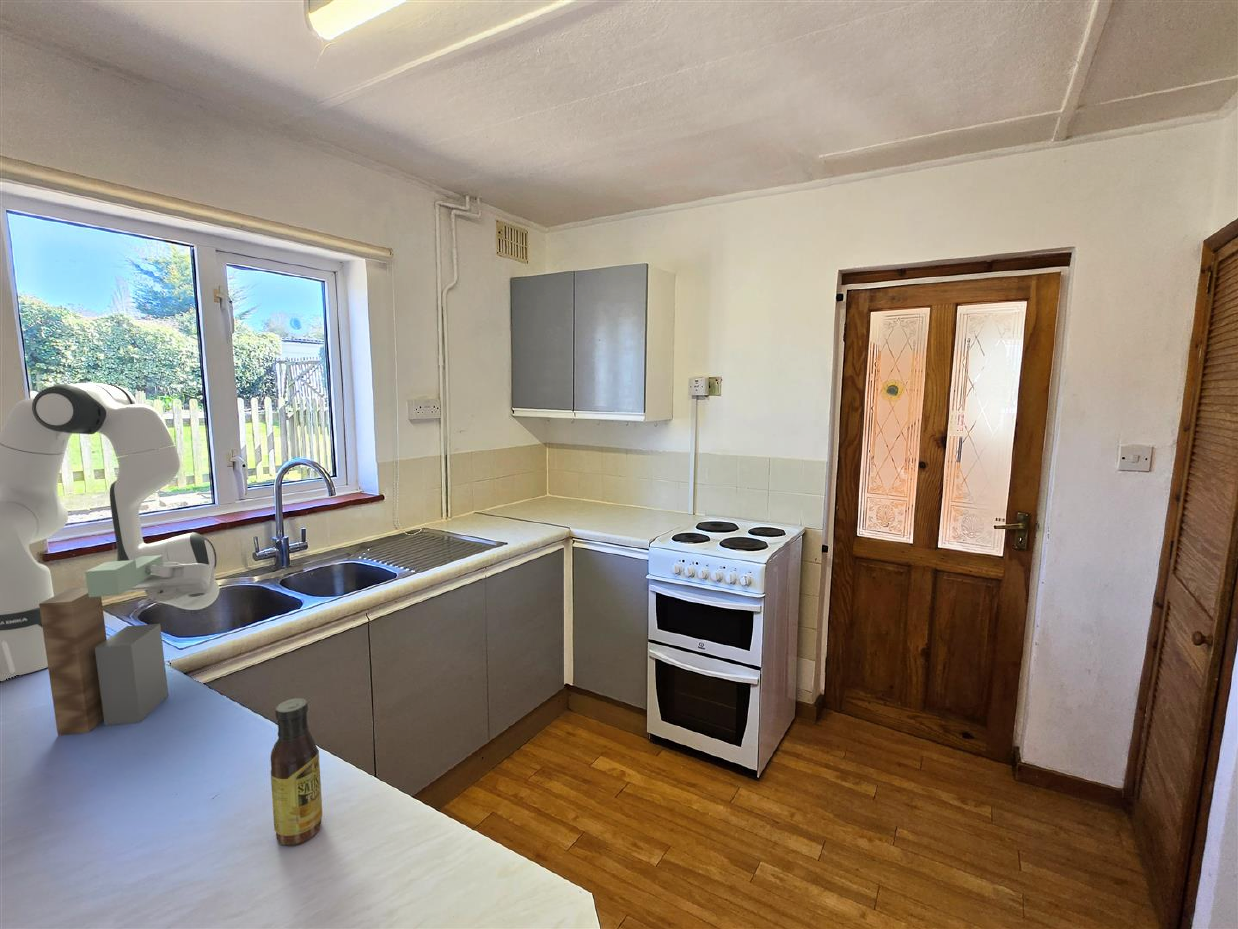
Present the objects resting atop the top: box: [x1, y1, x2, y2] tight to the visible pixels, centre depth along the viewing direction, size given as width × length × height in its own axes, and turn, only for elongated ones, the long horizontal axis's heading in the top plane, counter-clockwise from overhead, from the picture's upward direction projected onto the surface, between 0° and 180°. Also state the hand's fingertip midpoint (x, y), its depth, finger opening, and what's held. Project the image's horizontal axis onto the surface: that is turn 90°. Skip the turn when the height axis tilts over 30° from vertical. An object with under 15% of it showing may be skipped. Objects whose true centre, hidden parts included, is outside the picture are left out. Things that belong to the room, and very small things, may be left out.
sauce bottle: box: [270, 697, 323, 846], centre depth 84 cm, size 7×6×20 cm
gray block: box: [95, 623, 169, 726], centre depth 117 cm, size 6×10×16 cm, turn 12°
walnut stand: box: [39, 587, 108, 736], centre depth 112 cm, size 5×8×26 cm, turn 12°
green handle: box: [84, 555, 163, 597], centre depth 116 cm, size 5×16×5 cm, turn 12°
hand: (134, 569), depth 118 cm, fingers closed on green handle, 4 cm apart
